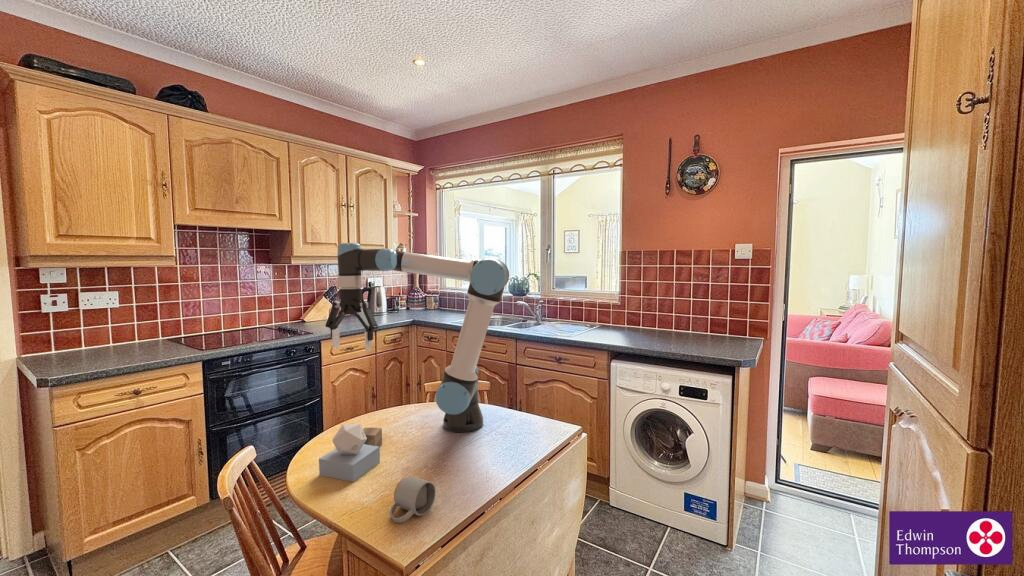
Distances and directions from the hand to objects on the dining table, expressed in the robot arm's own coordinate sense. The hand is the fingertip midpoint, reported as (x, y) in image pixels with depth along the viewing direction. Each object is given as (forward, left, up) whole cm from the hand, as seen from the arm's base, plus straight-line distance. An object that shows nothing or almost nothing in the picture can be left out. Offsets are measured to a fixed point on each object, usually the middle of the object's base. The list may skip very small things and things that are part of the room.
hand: (352, 348), depth 144 cm
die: (-14, +19, -27) cm, 36 cm away
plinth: (-14, +19, -32) cm, 40 cm away
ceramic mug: (-43, +32, -32) cm, 62 cm away
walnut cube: (-11, +6, -32) cm, 34 cm away
